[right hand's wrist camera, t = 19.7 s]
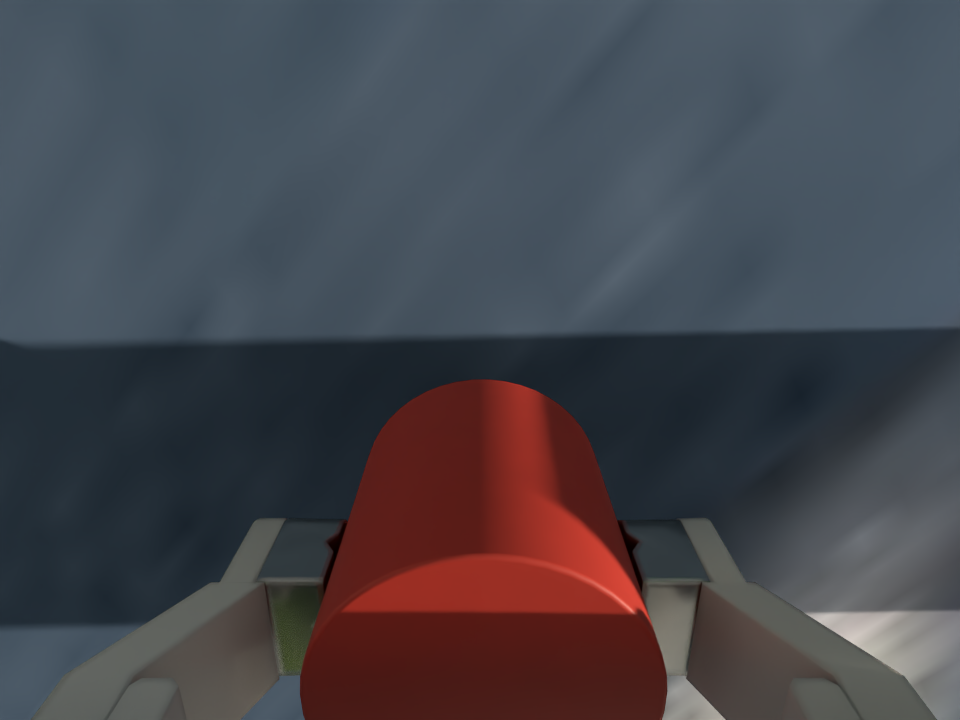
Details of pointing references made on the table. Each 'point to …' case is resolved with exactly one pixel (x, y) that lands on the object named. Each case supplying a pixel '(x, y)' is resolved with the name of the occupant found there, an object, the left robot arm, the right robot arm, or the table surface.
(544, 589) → the canister
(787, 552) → the table surface
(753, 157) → the table surface
